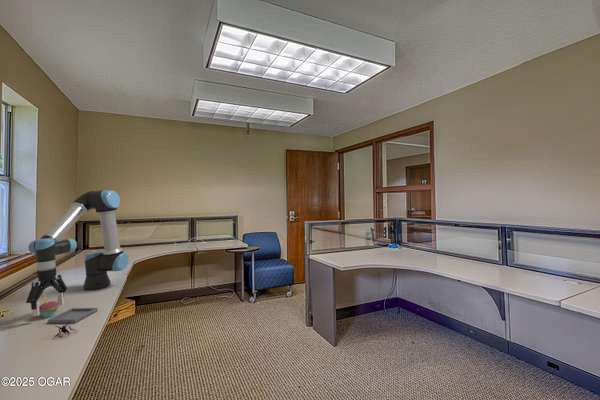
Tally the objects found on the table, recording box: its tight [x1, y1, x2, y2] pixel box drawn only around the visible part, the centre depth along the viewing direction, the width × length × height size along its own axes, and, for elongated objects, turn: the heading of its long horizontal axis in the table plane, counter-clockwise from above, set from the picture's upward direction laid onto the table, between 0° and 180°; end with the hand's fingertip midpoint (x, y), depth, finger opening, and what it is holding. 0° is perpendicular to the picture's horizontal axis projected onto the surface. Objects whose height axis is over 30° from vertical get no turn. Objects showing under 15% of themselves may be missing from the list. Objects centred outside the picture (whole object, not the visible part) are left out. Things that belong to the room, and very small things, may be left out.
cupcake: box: [39, 292, 61, 319], centre depth 150 cm, size 9×8×12 cm
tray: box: [47, 307, 99, 324], centre depth 147 cm, size 14×14×2 cm
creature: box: [54, 322, 78, 340], centre depth 128 cm, size 8×5×8 cm
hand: (49, 309), depth 150 cm, fingers open, 13 cm apart
